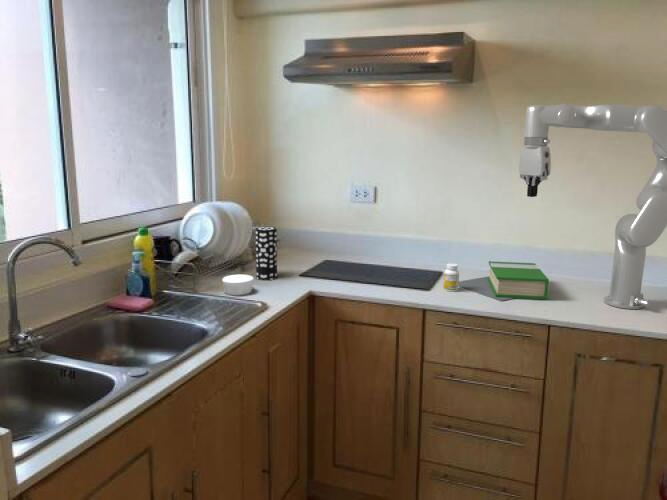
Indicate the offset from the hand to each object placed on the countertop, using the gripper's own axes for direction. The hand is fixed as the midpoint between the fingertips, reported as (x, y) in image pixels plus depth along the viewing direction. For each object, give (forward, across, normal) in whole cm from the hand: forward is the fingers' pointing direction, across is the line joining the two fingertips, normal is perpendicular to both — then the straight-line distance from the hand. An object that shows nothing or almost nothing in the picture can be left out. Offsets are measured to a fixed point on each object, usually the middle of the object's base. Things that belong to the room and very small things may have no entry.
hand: (531, 196), depth 197 cm
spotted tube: (+35, +70, +69) cm, 105 cm away
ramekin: (+35, +58, +86) cm, 110 cm away
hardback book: (+33, -1, +2) cm, 33 cm away
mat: (+36, +14, -2) cm, 39 cm away
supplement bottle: (+36, +21, +16) cm, 45 cm away
